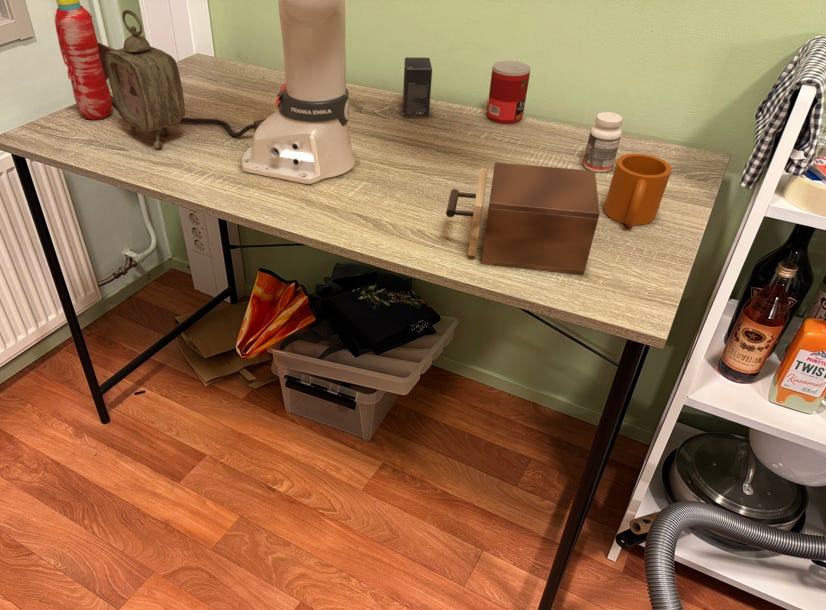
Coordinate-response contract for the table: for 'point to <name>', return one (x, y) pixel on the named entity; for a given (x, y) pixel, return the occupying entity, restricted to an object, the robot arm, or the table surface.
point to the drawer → (476, 214)
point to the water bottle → (83, 59)
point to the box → (417, 87)
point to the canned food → (508, 91)
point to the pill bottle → (603, 142)
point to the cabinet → (541, 218)
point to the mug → (637, 189)
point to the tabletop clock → (145, 84)
